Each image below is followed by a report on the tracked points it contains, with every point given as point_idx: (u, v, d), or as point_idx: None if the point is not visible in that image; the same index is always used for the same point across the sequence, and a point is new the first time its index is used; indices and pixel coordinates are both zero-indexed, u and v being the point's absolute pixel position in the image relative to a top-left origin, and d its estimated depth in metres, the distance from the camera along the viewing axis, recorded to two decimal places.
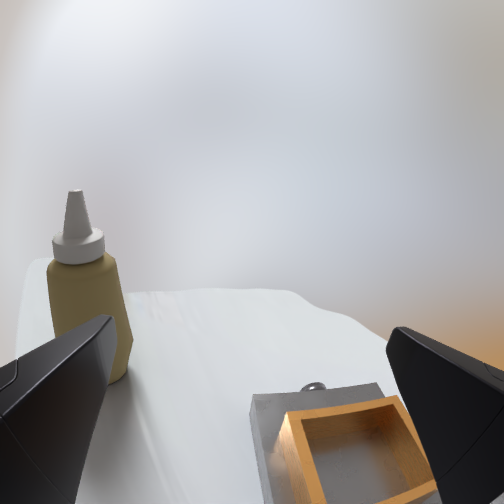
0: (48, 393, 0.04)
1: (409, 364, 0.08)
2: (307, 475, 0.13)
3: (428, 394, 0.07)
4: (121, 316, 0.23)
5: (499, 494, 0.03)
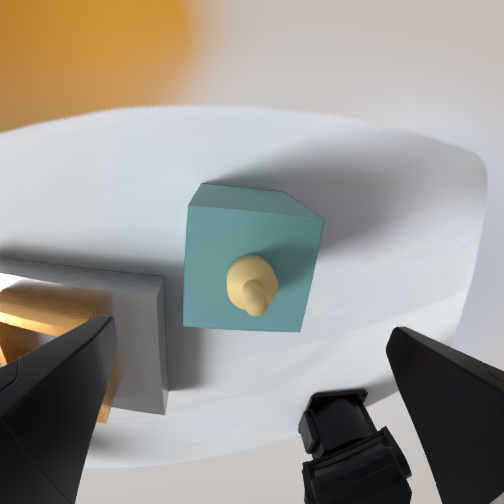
0: (48, 393, 0.04)
1: (409, 364, 0.08)
2: None
3: (428, 394, 0.07)
4: None
5: (499, 494, 0.03)
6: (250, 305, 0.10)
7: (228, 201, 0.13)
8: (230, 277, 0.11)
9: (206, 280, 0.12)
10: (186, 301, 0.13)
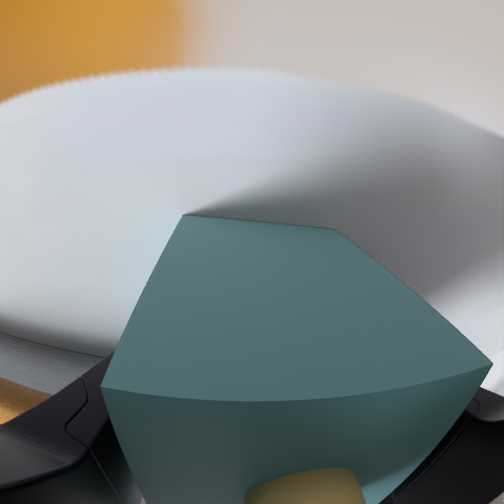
0: None
1: None
2: None
3: None
4: None
5: None
6: None
7: (243, 314, 0.04)
8: None
9: (196, 501, 0.04)
10: None
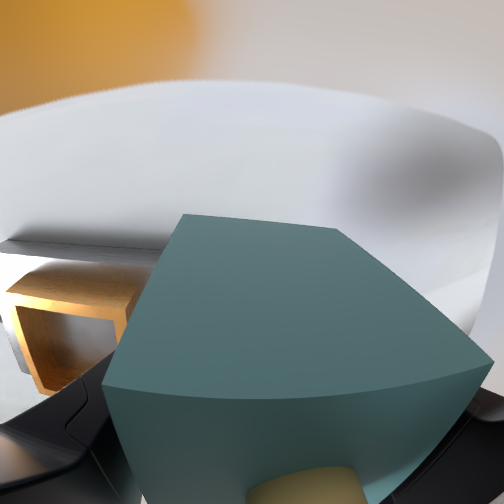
0: None
1: None
2: None
3: None
4: None
5: None
6: None
7: (245, 312, 0.04)
8: None
9: (197, 501, 0.04)
10: None
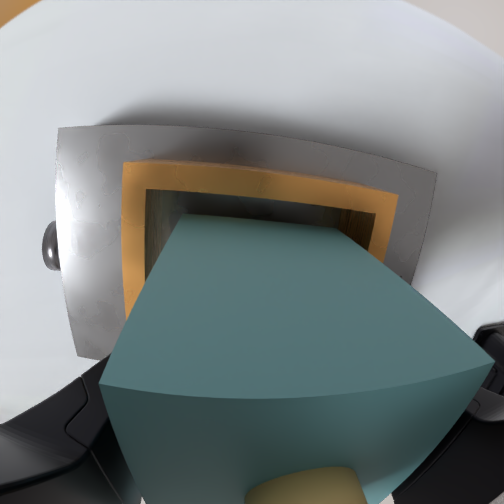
0: None
1: None
2: None
3: None
4: None
5: None
6: None
7: (244, 311, 0.04)
8: None
9: (196, 501, 0.04)
10: None
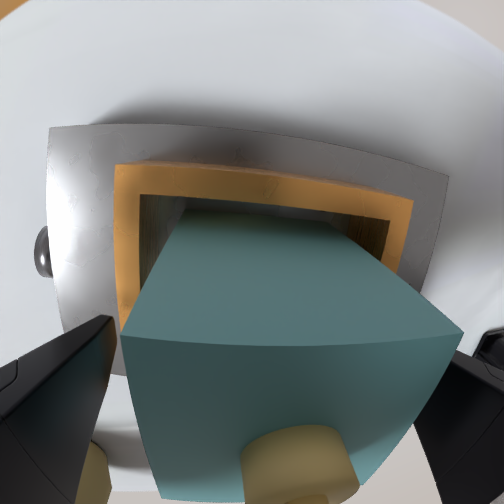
0: (48, 393, 0.04)
1: None
2: None
3: None
4: None
5: (499, 494, 0.03)
6: None
7: (238, 285, 0.05)
8: (254, 498, 0.03)
9: (196, 462, 0.05)
10: (160, 480, 0.05)
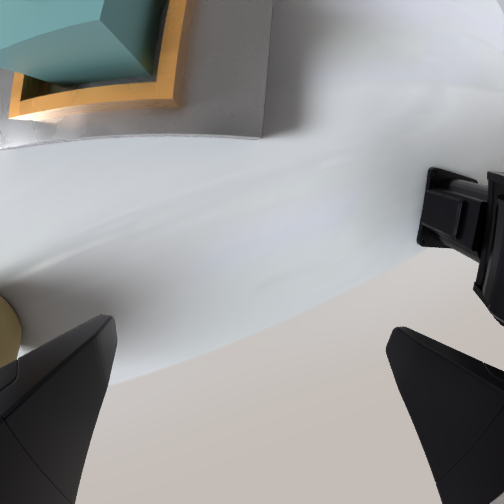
0: (48, 393, 0.04)
1: (409, 364, 0.08)
2: (90, 99, 0.10)
3: (428, 394, 0.07)
4: None
5: (499, 494, 0.03)
6: None
7: None
8: None
9: None
10: None
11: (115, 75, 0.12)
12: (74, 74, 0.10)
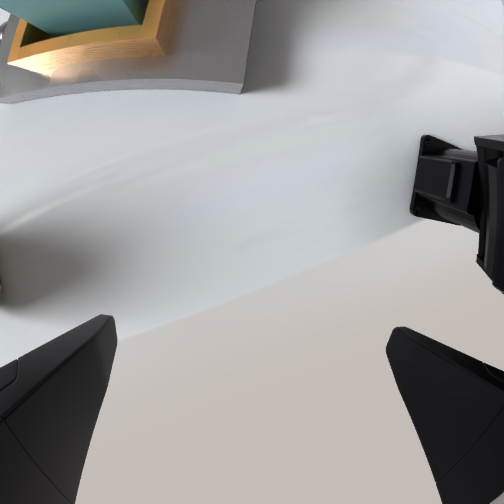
0: (48, 393, 0.04)
1: (409, 364, 0.08)
2: (81, 41, 0.09)
3: (428, 394, 0.07)
4: None
5: (499, 494, 0.03)
6: None
7: None
8: None
9: None
10: None
11: (108, 27, 0.11)
12: (71, 24, 0.09)
